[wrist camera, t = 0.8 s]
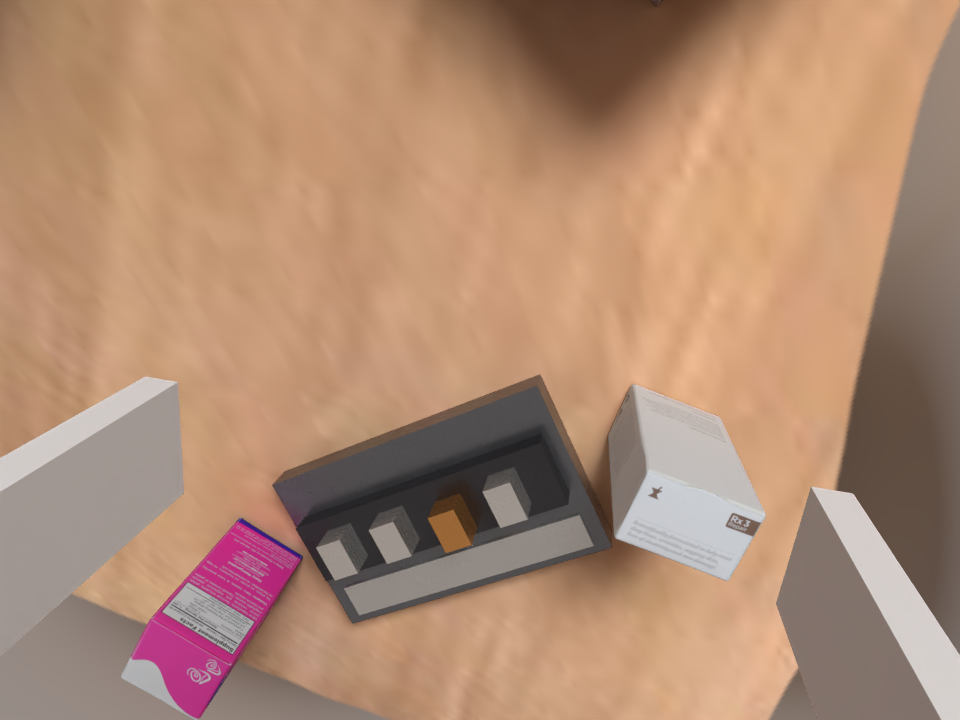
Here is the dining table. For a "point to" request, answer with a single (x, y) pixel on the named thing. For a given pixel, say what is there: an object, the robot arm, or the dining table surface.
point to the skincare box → (680, 484)
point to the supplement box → (211, 619)
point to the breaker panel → (440, 452)
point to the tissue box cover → (656, 2)
